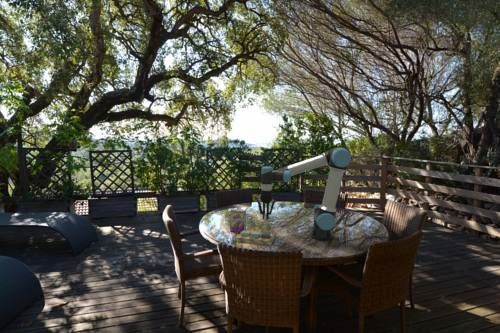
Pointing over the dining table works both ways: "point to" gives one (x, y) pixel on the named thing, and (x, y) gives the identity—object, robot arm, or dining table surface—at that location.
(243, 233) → the key sage
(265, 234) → the key charcoal
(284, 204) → the dining table surface
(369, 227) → the dining table surface
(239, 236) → the keypad
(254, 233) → the key slate
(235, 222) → the candy bar box
